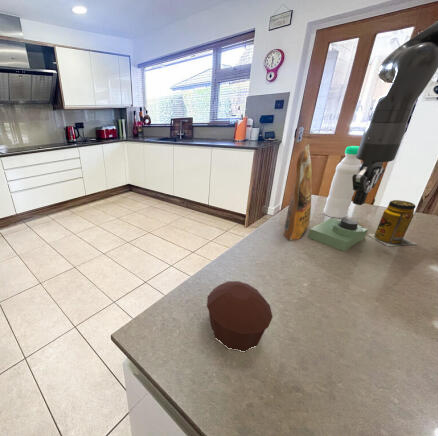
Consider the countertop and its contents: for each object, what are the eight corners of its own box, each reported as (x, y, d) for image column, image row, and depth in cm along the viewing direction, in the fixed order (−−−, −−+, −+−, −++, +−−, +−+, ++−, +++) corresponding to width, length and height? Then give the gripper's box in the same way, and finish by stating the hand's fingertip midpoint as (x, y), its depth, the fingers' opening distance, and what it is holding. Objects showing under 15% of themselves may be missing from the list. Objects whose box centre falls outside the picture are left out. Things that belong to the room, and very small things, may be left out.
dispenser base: (328, 226, 81) (332, 213, 79) (366, 238, 72) (372, 224, 70) (307, 237, 75) (311, 223, 73) (345, 252, 67) (351, 237, 65)
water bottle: (351, 218, 85) (375, 147, 74) (331, 219, 85) (353, 148, 75) (337, 210, 91) (357, 144, 81) (318, 211, 92) (337, 145, 81)
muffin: (271, 366, 39) (282, 324, 35) (203, 352, 42) (206, 312, 38) (260, 312, 49) (268, 274, 45) (207, 304, 52) (209, 267, 48)
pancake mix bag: (273, 238, 76) (290, 150, 64) (290, 218, 88) (308, 140, 76) (296, 245, 71) (320, 151, 59) (311, 223, 83) (333, 141, 72)
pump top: (343, 223, 73) (345, 217, 72) (358, 228, 70) (361, 221, 69) (336, 226, 71) (338, 220, 70) (352, 231, 68) (354, 225, 67)
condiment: (366, 234, 75) (379, 199, 70) (393, 233, 74) (409, 197, 69) (387, 246, 68) (404, 208, 63) (417, 245, 68) (436, 207, 63)
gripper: (389, 145, 54) (363, 213, 61) (410, 139, 59) (384, 202, 67) (350, 142, 60) (331, 205, 67) (373, 137, 65) (353, 195, 73)
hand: (358, 203), depth 67 cm, fingers closed
